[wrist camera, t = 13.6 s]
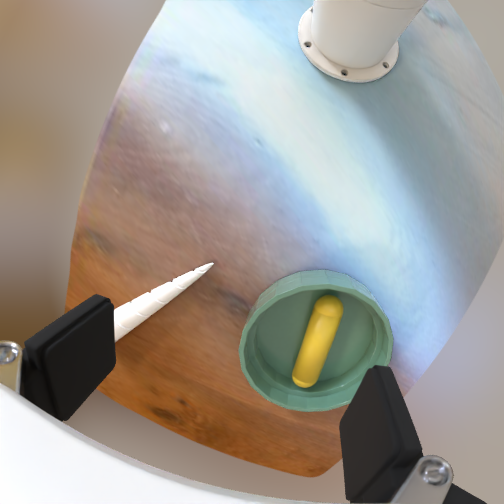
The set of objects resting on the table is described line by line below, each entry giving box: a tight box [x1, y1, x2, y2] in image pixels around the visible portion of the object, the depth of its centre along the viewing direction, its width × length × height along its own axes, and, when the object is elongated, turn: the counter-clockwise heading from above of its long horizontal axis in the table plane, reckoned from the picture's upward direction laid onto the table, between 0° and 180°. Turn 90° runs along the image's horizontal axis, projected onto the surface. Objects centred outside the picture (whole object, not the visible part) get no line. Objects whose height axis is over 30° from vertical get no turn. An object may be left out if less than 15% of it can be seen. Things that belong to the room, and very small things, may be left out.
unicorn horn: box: [114, 263, 214, 342], centre depth 37 cm, size 5×24×5 cm, turn 119°
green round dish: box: [239, 269, 393, 412], centre depth 35 cm, size 18×18×6 cm
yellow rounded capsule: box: [292, 295, 343, 388], centre depth 35 cm, size 14×4×4 cm, turn 169°
